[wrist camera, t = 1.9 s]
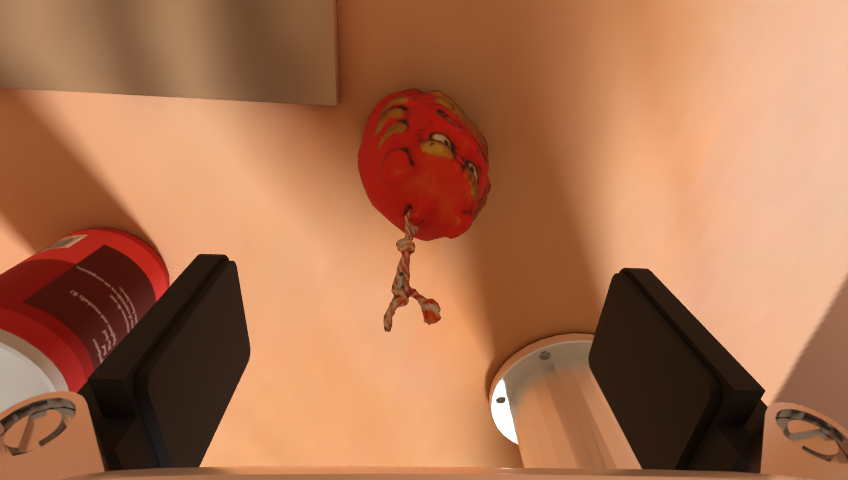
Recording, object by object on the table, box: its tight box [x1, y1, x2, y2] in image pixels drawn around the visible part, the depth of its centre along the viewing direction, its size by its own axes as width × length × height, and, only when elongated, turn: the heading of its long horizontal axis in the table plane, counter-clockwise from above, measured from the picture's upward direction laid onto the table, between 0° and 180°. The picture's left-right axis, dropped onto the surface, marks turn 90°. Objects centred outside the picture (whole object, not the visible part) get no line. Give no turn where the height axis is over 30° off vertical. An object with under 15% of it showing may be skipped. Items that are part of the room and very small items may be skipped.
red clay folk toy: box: [358, 89, 491, 332], centre depth 20 cm, size 8×7×15 cm
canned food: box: [0, 228, 170, 413], centre depth 25 cm, size 8×8×11 cm
